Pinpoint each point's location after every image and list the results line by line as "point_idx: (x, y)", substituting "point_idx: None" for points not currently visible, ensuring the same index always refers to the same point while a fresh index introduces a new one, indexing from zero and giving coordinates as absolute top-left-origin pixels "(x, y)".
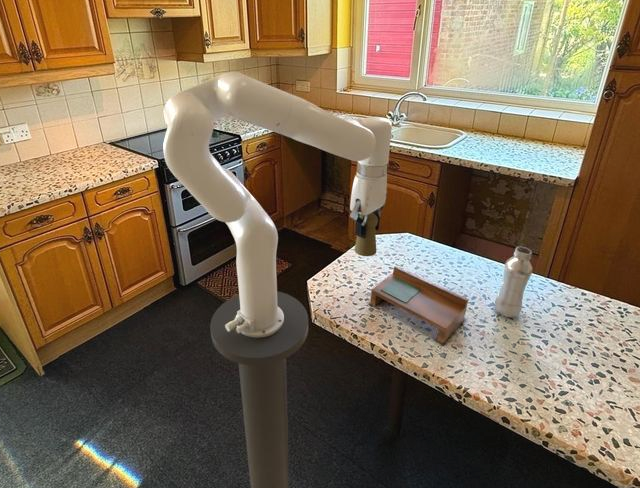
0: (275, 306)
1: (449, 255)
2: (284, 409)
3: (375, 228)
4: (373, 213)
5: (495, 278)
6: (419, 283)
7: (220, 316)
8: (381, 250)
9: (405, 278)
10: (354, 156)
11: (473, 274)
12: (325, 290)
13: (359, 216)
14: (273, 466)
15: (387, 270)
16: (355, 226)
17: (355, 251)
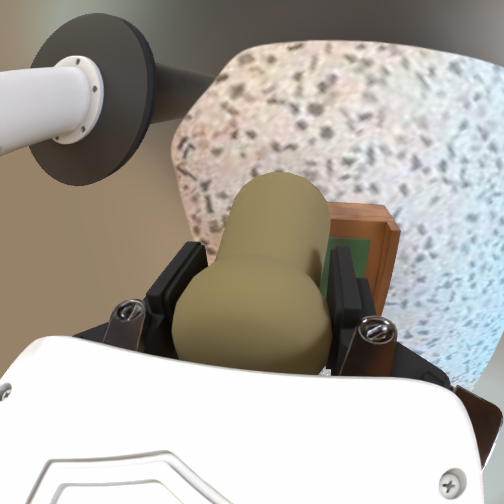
0: (50, 135)
1: None
2: (179, 117)
3: (326, 301)
4: (340, 355)
5: (484, 333)
6: (374, 294)
7: (41, 59)
8: (490, 110)
9: (380, 258)
10: None
11: (487, 307)
12: (238, 87)
13: (144, 346)
14: None
15: (429, 163)
16: (164, 271)
17: (234, 199)
